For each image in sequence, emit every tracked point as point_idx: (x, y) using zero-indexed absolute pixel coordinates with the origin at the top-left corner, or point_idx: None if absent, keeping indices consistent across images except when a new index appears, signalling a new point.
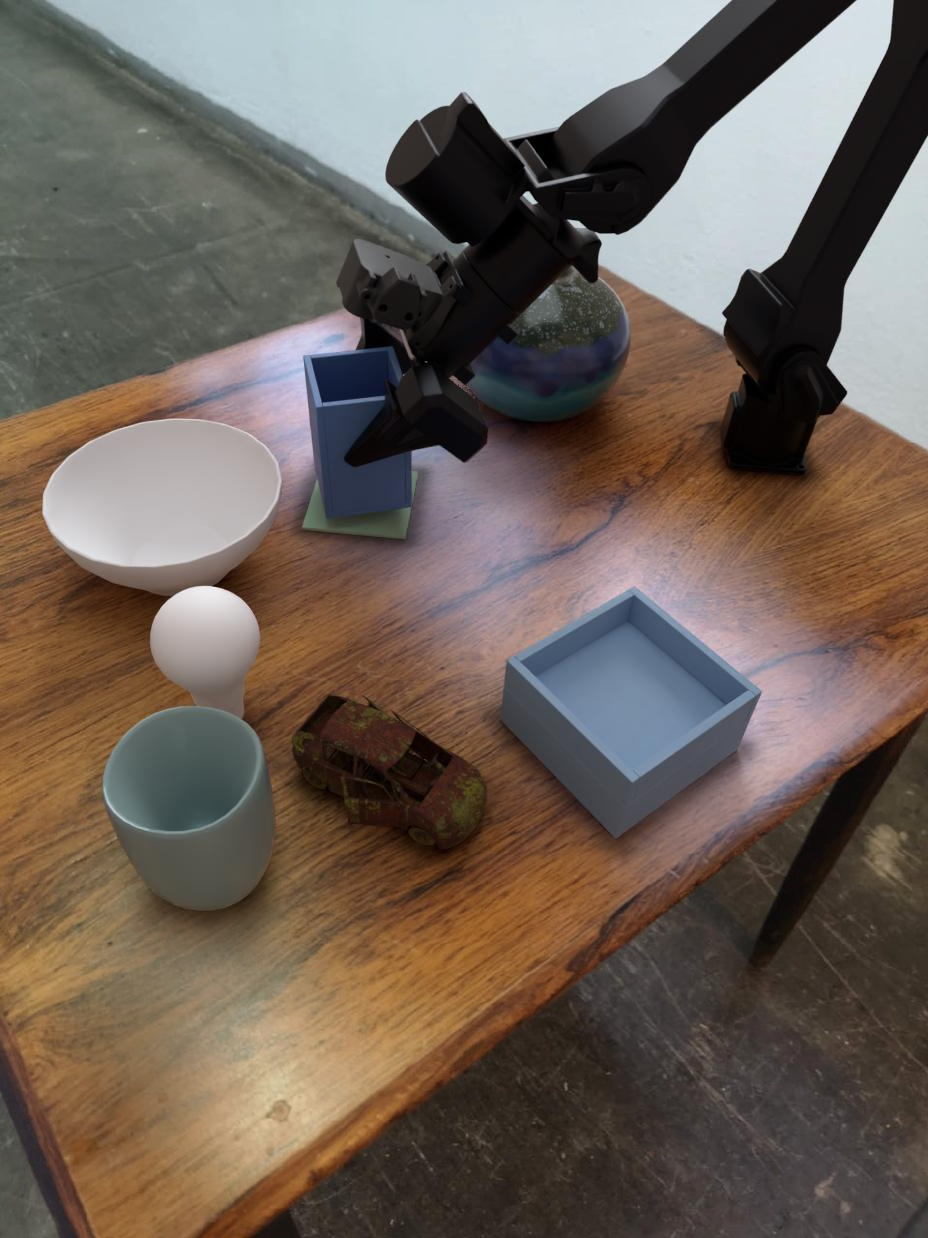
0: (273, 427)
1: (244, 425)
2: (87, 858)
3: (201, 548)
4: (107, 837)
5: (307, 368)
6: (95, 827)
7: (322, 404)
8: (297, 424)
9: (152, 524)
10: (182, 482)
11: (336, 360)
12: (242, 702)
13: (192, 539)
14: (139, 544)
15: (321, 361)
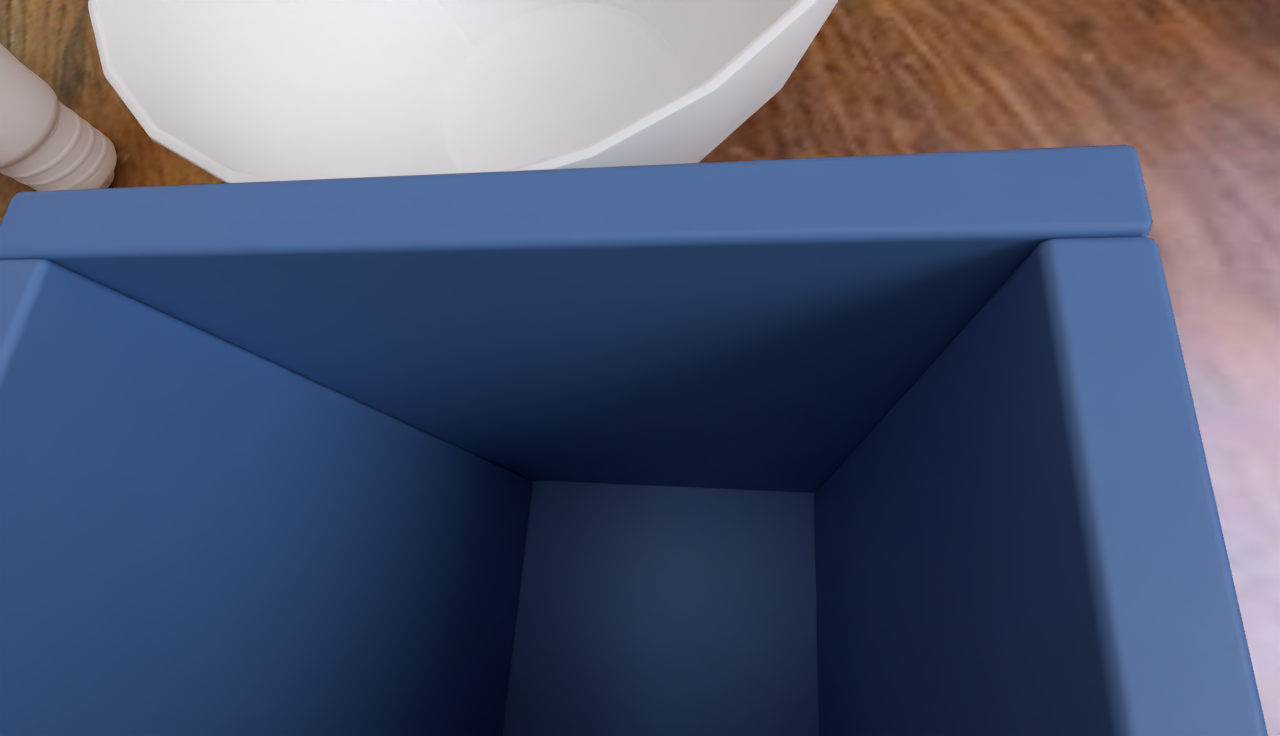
0: (1201, 381)
1: (1216, 280)
2: (7, 10)
3: (585, 141)
4: (19, 29)
5: (764, 173)
6: (43, 14)
7: (21, 258)
8: (1225, 477)
9: (677, 22)
10: (750, 31)
11: (1051, 654)
12: (17, 179)
13: (624, 122)
14: (634, 14)
15: (1028, 409)
